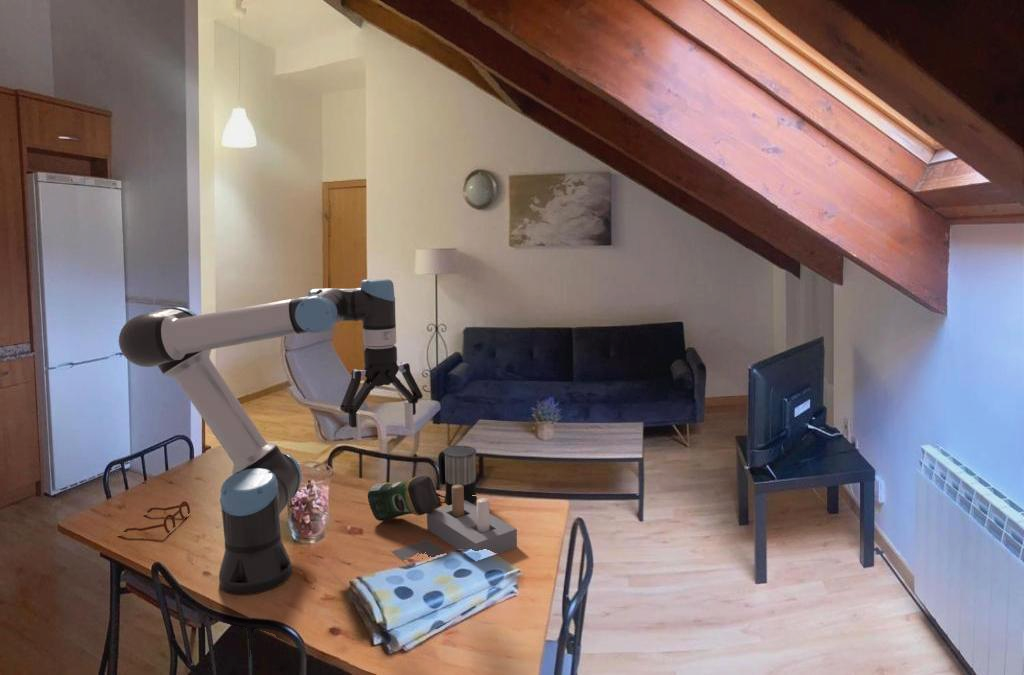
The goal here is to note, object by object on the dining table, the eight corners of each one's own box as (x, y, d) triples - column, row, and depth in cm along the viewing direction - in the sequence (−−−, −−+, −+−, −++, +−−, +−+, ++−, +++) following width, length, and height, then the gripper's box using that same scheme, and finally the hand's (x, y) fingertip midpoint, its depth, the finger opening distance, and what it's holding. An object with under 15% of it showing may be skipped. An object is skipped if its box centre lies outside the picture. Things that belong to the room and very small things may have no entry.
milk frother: (483, 498, 195) (482, 448, 193) (450, 518, 182) (449, 465, 179) (444, 488, 202) (442, 440, 200) (409, 507, 189) (407, 456, 187)
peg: (482, 551, 164) (481, 504, 161) (475, 546, 166) (474, 500, 164) (492, 547, 165) (491, 501, 163) (485, 542, 168) (484, 497, 165)
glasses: (168, 537, 174) (166, 519, 173) (117, 538, 173) (114, 520, 172) (191, 515, 186) (190, 498, 186) (143, 516, 186) (141, 499, 185)
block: (476, 563, 158) (475, 514, 156) (427, 530, 175) (425, 486, 173) (516, 548, 165) (516, 501, 163) (466, 517, 182) (465, 475, 180)
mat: (411, 569, 155) (411, 567, 155) (391, 553, 163) (391, 551, 163) (448, 556, 161) (448, 554, 161) (427, 540, 169) (427, 539, 169)
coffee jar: (393, 512, 186) (445, 505, 176) (374, 525, 179) (427, 518, 169) (382, 478, 185) (434, 470, 175) (362, 490, 178) (415, 482, 168)
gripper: (335, 355, 147) (341, 449, 151) (435, 341, 162) (437, 427, 166) (322, 350, 153) (327, 440, 157) (419, 337, 168) (421, 420, 172)
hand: (384, 434), depth 161 cm, fingers open, 13 cm apart
